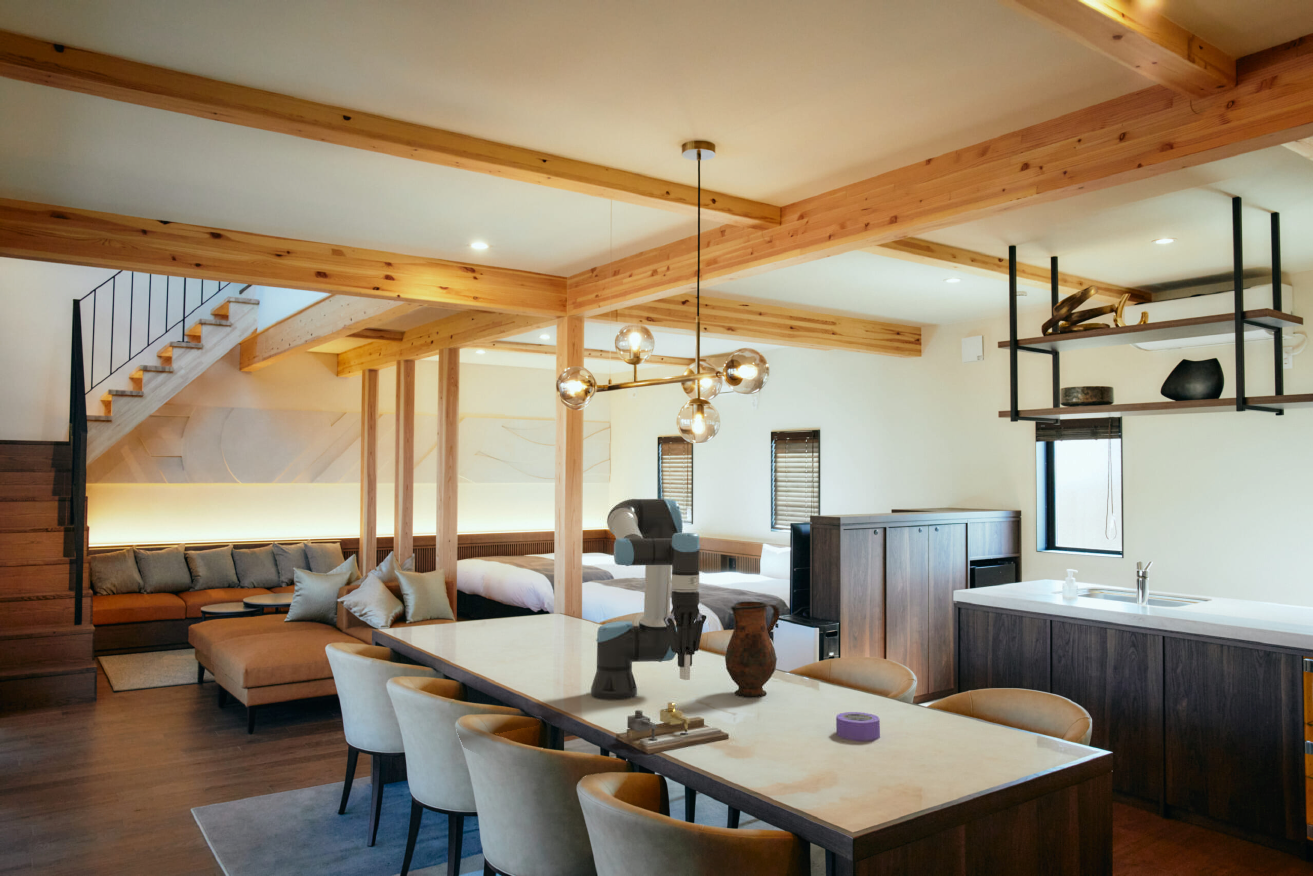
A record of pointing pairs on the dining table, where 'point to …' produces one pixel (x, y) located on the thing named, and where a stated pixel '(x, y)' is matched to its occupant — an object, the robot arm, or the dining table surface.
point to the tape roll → (858, 726)
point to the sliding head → (673, 716)
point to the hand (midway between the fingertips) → (684, 678)
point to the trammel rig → (667, 734)
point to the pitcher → (751, 649)
